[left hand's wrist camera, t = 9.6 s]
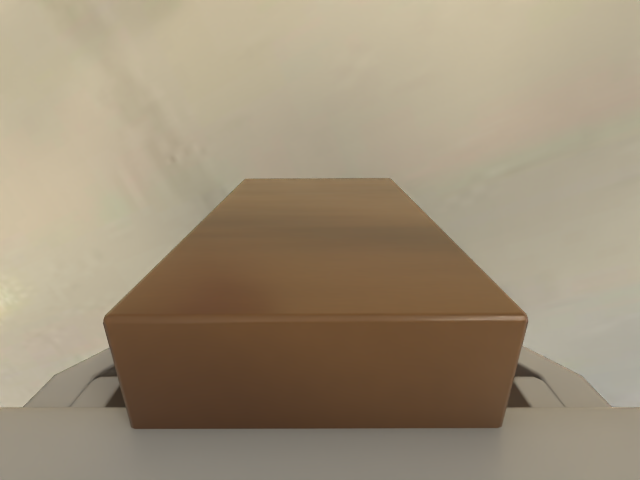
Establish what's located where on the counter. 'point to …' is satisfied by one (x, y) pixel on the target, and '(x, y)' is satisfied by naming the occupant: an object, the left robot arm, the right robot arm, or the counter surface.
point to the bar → (316, 318)
